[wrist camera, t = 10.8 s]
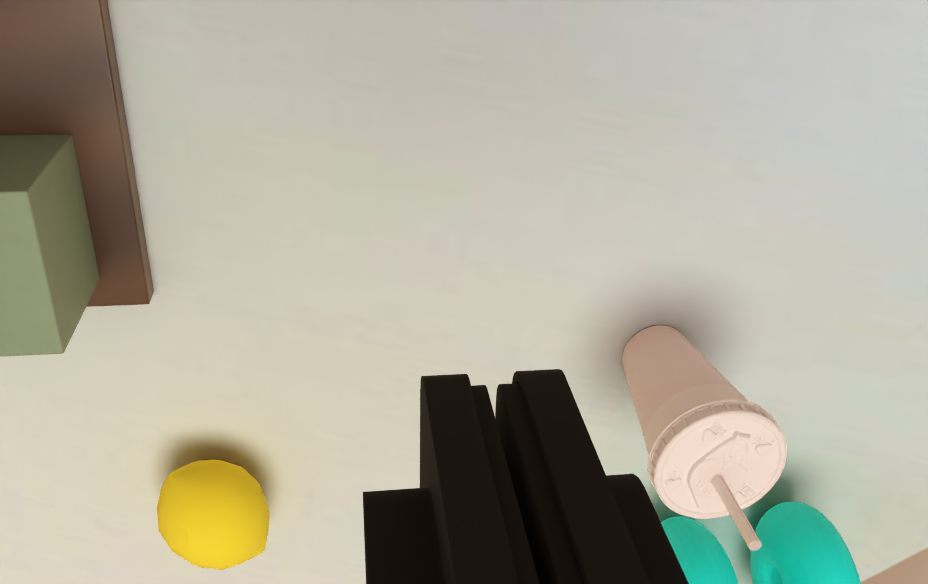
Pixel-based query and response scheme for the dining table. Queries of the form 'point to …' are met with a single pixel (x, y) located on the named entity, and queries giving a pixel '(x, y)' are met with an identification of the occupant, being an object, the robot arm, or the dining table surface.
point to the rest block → (42, 245)
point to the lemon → (213, 514)
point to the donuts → (768, 550)
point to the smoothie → (700, 431)
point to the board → (79, 125)
